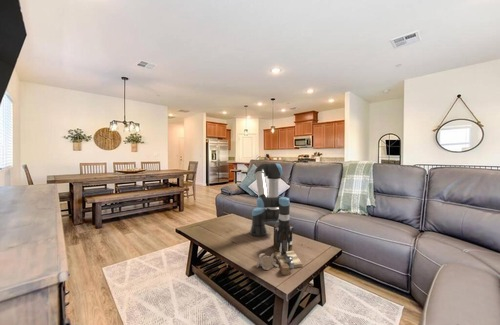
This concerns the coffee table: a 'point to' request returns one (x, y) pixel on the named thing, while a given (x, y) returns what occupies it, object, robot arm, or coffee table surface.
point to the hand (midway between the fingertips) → (283, 250)
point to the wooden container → (282, 238)
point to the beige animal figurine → (267, 261)
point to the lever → (288, 258)
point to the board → (291, 253)
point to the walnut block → (285, 268)
